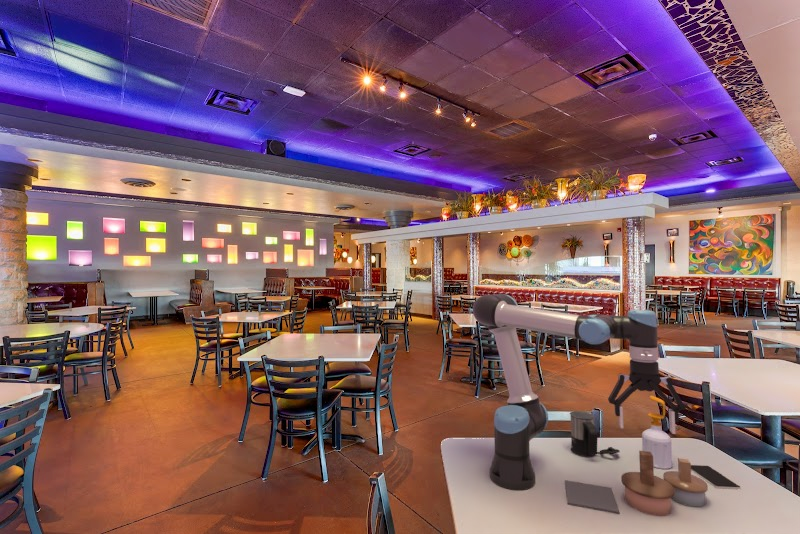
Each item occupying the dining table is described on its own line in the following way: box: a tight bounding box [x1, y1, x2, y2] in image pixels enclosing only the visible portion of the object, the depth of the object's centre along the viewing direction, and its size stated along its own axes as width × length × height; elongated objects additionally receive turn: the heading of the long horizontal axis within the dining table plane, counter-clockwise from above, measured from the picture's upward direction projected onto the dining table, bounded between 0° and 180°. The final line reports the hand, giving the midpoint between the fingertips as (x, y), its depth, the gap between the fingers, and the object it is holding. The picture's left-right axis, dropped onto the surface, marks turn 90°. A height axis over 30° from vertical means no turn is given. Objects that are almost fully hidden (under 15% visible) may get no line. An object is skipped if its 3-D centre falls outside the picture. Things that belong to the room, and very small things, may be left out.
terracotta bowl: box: [624, 486, 672, 517], centre depth 116 cm, size 12×12×5 cm
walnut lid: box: [620, 450, 674, 499], centre depth 116 cm, size 14×14×10 cm
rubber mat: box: [564, 479, 620, 515], centre depth 120 cm, size 14×14×1 cm
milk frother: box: [569, 410, 620, 458], centre depth 150 cm, size 14×16×15 cm
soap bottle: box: [641, 395, 673, 470], centre depth 142 cm, size 9×9×25 cm
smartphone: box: [691, 464, 741, 490], centre depth 131 cm, size 8×1×15 cm
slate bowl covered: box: [662, 457, 708, 508], centre depth 119 cm, size 11×11×11 cm
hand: (646, 429), depth 117 cm, fingers open, 13 cm apart
